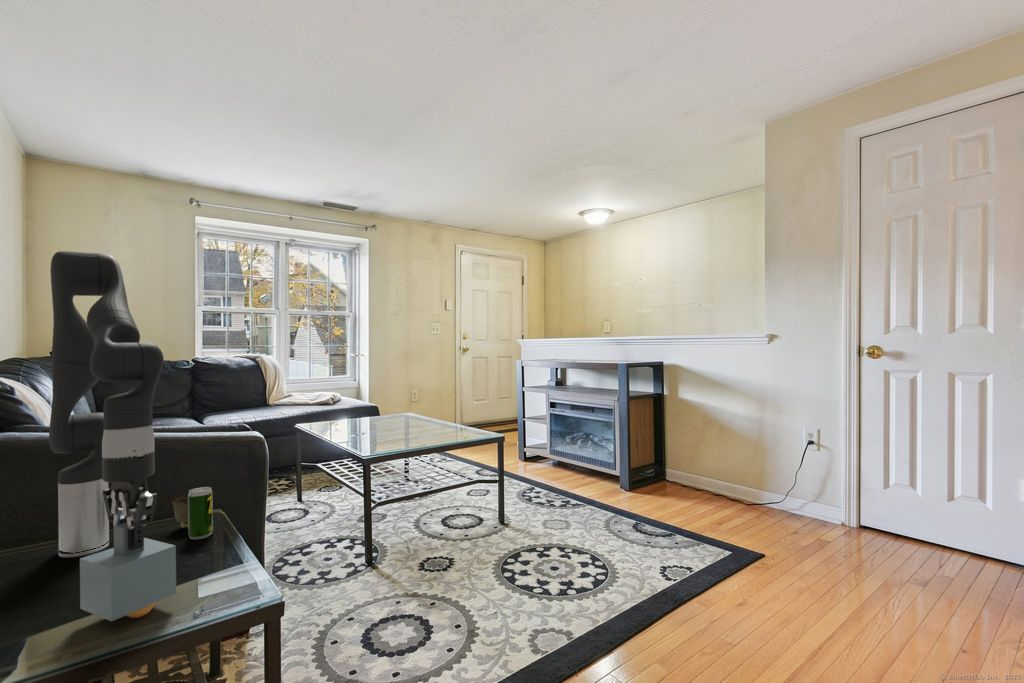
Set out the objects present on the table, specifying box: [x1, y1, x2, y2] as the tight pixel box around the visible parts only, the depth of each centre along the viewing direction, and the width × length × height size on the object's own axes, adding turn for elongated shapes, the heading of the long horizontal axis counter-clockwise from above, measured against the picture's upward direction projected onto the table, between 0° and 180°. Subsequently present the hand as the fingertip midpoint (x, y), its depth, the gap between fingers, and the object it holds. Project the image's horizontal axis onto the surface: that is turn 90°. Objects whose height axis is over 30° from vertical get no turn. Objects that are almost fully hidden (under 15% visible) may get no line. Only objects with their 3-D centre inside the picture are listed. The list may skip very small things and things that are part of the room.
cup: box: [171, 495, 188, 529], centre depth 133 cm, size 8×7×8 cm
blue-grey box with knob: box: [79, 522, 177, 622], centre depth 88 cm, size 10×10×14 cm
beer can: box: [187, 486, 214, 540], centre depth 126 cm, size 5×5×12 cm
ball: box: [125, 602, 157, 619], centre depth 87 cm, size 5×5×5 cm
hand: (130, 546), depth 88 cm, fingers closed on blue-grey box with knob, 3 cm apart
